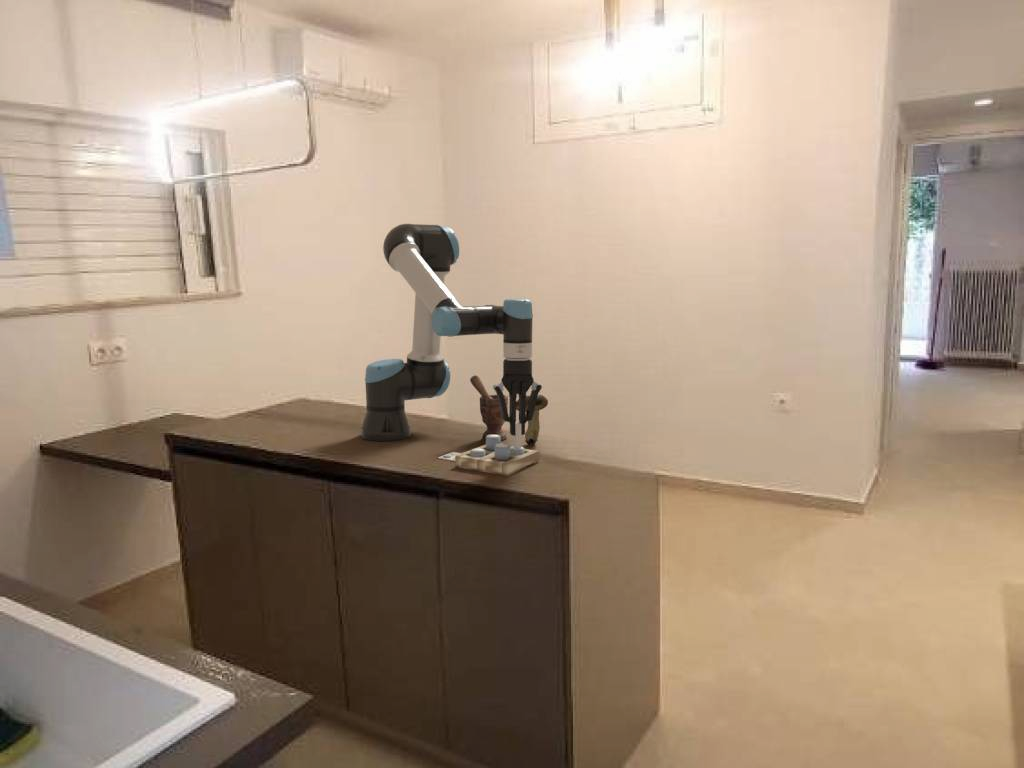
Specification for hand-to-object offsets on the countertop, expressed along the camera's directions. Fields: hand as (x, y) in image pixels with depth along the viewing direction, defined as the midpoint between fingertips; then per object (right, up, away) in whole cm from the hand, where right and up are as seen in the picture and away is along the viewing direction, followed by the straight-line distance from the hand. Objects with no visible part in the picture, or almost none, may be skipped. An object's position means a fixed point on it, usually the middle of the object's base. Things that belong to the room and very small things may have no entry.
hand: (517, 446), depth 190 cm
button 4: (0, -4, +1) cm, 4 cm away
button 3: (-4, -3, -6) cm, 8 cm away
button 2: (-7, -1, +4) cm, 8 cm away
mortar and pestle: (-8, 0, +28) cm, 29 cm away
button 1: (-10, -4, -2) cm, 11 cm away
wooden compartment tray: (-5, -5, -1) cm, 7 cm away
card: (-17, -3, +6) cm, 18 cm away
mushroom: (+5, -1, +21) cm, 22 cm away
